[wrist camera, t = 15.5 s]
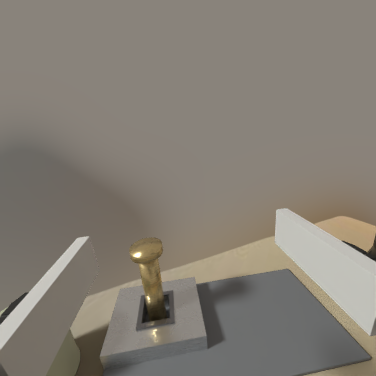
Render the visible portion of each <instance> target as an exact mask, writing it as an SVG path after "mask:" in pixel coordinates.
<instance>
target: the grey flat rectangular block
mask: <svg viewBox="0 0 376 376" xmlns="http://www.w3.org/2000/svg"><path fill="white" fill-rule="evenodd" d="M162 288H163V294H164V301H165V307H166V308H168V307H170V318H167V319H162V320H156V321H151V322H146V317H147V311H148V310H147V305H146V300H145V294H144V289H143V285H142V286H136V287H130V288H124V289H120V291H119V294H118V298H117V301H116V304H115V308H114V311H113V314H112V317H111V321H110V324H109V327H108V331H107V334H106V337H105V340H104V344H103V347H102V350H101V354H100V360H101V363H102V366H103V369H104V370H108V369H113V368H118V367H123V366H128V365H133V364H138V363H142V362H147V361H152V360H157V359H162V358H167V357H172V356H177V355H182V354H187V353H192V352H197V351H201V350H206V349H208V348H207V335H206V330H205V326H204V321H203V316H202V311H201V306H200V301H199V296H198V292H197V287H196V282H195V277H192V278H185V279H179V280H173V281H167V282H162Z"/></svg>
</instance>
